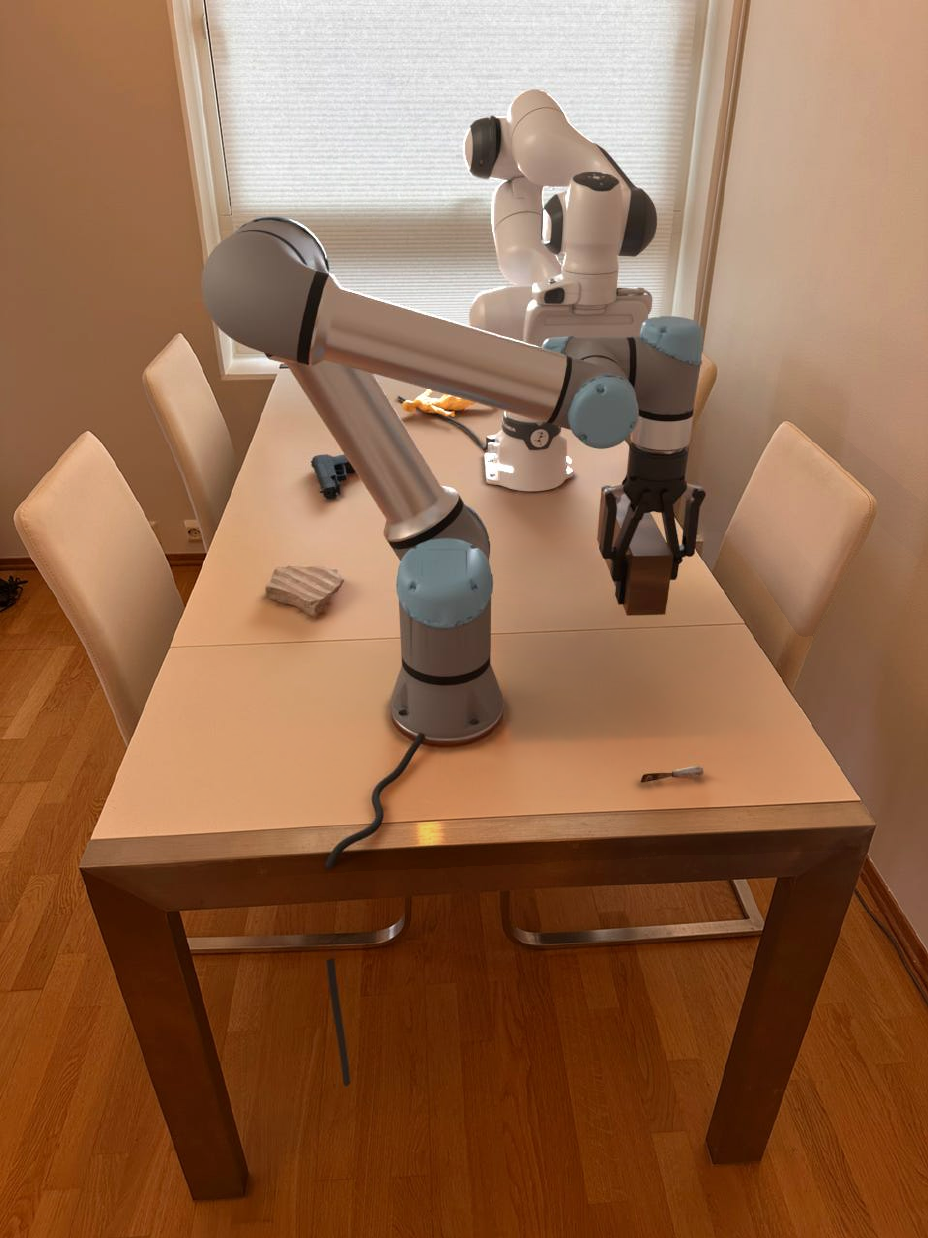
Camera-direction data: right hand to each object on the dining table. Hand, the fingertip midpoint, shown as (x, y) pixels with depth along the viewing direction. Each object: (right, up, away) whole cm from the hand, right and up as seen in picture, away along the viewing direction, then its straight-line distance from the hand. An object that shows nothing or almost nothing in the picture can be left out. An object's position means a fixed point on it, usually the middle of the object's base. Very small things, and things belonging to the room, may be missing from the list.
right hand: (582, 375), depth 148 cm
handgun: (-45, -12, +40) cm, 61 cm away
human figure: (-23, +12, +78) cm, 82 cm away
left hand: (+5, -38, -21) cm, 44 cm away
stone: (-46, -37, -1) cm, 59 cm away
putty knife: (+6, -60, -39) cm, 72 cm away
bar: (+5, -34, -14) cm, 37 cm away
